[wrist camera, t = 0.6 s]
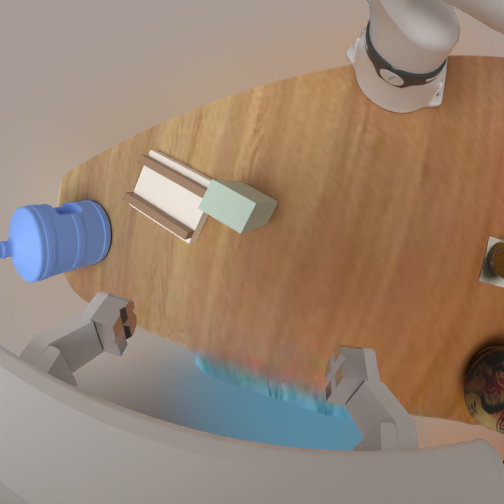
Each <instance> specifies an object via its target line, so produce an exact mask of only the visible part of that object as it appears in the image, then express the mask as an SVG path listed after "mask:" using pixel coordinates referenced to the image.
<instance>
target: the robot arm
mask: <svg viewBox="0 0 504 504" xmlns="http://www.w3.org/2000/svg"><path fill="white" fill-rule="evenodd" d="M367 1H368V4H369V9H370V19H369V21H368V25H367V28H364V29H362V31H361V34H362V35H361V36H360V37H359V38H357V40H356V42H355V43H354V44H353V45H352V46H351V47H350V48H349V49H348V50H347V53H346V57H347V59H348V61H349V62H350V63H351V65H352V66H353V68H354V70H355V75H356V79H357V82H358V84H359V86H360V88H361V90H362V91H363V93H364V94H365V95H366V96H367V97H368V98H369V99H370V100H371V101H372V102H373V103H375V104H376V105H378V106H380V107H382V108H384V109H386V110H389V111H392V112H398V113H408V112H413V111H416V110H418V109H420V108H423V107H438V106H440V104H441V102H442V97H443V91H444V84H445V77H446V69H447V60H448V55H449V54H450V52H451V51H452V49H453V48H454V46H455V45H456V43H457V41H458V39H459V35H460V26H459V21H458V18H457V16H456V13H455V11H454V9H453V7H452V6H454V7H456V8H458V9H460V10H461V11H463V12H465V13H467V14H469V15H470V16H472V17H474V18H476V19H477V20H479V21H481V22H483V23H484V24H486V25H487V26H489V27H490V28H492V29H494V30H496V31H498V32H500V33H502V34H504V0H367ZM354 50H355V51H354ZM436 94H438V96H436ZM133 309H134V303H133V301H131V300H128V299H125V298H122V297H119V296H116V295H113V294H109V293H106V292H103V291H100V292H98V293H97V294H96V295H95V297H94V298H93V299H92V301H91V302H90V303H89V305H88V306H87V307H86V309H85V310H84V312H83V313H82V314H81V316H75V317H73V318H71V319H69V320H67V321H65V322H63V323H61V324H58V325H56V326H54V327H52V328H50V329H48V330H46V331H44V332H42V333H40V334H37V335H35V336H34V337H33V338H32V340H31V341H30V342H29V344H28V345H27V347H26V348H25V349H24V351H23V352H22V354H21V355H20V357H18V356H17V355H15V354H13V353H12V352H10V351H9V350H7V349H6V348H4V347H3V346H1V345H0V504H504V465H503V462H502V459H501V457H500V456H499V455H498V453H497V452H496V451H495V450H494V449H493V447H492V446H491V445H490V444H489V443H488V442H487V441H486V440H484V439H477V440H472V441H467V442H461V443H455V444H449V445H442V446H435V447H425V448H418V441H417V433H416V426H415V421H414V420H413V419H412V417H411V416H410V415H409V414H408V412H407V411H406V410H405V409H404V407H403V406H402V405H401V404H400V403H399V401H398V400H397V399H396V398H395V396H394V395H393V394H392V393H391V391H390V390H389V389H388V388H387V387H386V385H385V384H384V383H383V382H380V378H379V372H378V366H377V360H376V354H375V351H374V349H369V348H361V347H354V346H346V345H337V346H336V348H335V350H334V355H333V356H332V357H330V359H329V361H328V363H327V367H326V373H325V379H326V380H327V382H328V383H329V384H328V385H327V387H326V388H325V389H326V402H329V403H338V404H345V406H346V408H347V410H348V412H349V413H350V415H351V417H352V418H353V420H354V422H355V424H356V425H357V427H358V429H359V430H360V432H361V434H362V436H363V438H364V439H363V440H362V441H361V442H359V443H358V444H357V445H356V446H355V447H353V451H338V450H319V449H306V448H296V447H286V446H278V445H271V444H264V443H257V442H251V441H245V440H240V439H235V438H229V437H225V436H220V435H215V434H211V433H206V432H203V431H198V430H194V429H191V428H187V427H183V426H180V425H176V424H172V423H169V422H166V421H163V420H159V419H156V418H153V417H150V416H147V415H144V414H141V413H138V412H135V411H132V410H130V409H127V408H124V407H121V406H119V405H116V404H114V403H111V402H109V401H106V400H104V399H102V398H99V397H97V396H94V395H92V394H90V393H87V392H85V391H83V390H81V389H79V388H77V381H76V380H75V378H74V376H73V374H72V373H73V372H74V371H76V370H77V369H79V368H80V367H82V366H83V365H84V364H86V363H87V362H89V361H90V360H92V359H93V358H95V357H96V356H98V355H99V354H101V353H102V352H103V351H106V352H109V353H112V354H115V355H118V356H121V355H122V354H123V352H124V350H125V348H126V346H127V341H126V339H128V338H130V337H131V336H132V335H133V333H134V330H135V327H136V315H135V314H134V312H133Z"/></svg>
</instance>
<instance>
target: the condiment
mask: <svg viewBox="0 0 504 504" xmlns="http://www.w3.org/2000/svg"><path fill="white" fill-rule="evenodd" d="M479 281H480V282H484V283H488V284H493V285H496V286H501V287H504V241H503V240H500V239H497V238H494V237H491V236H489V241H488V245H487V249H486V254H485V258H484V263H483V267H482V270H481V275H480V278H479Z"/></svg>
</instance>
